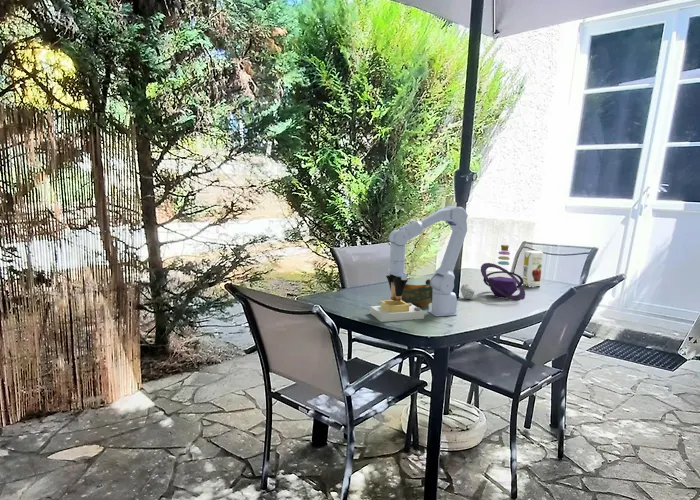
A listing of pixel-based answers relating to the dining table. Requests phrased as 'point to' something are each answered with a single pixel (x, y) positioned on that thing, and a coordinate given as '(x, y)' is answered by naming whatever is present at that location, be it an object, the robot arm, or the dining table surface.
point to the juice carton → (532, 268)
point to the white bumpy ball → (467, 291)
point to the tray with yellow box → (396, 311)
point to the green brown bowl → (417, 295)
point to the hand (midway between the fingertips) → (396, 294)
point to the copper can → (393, 294)
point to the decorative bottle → (503, 279)
